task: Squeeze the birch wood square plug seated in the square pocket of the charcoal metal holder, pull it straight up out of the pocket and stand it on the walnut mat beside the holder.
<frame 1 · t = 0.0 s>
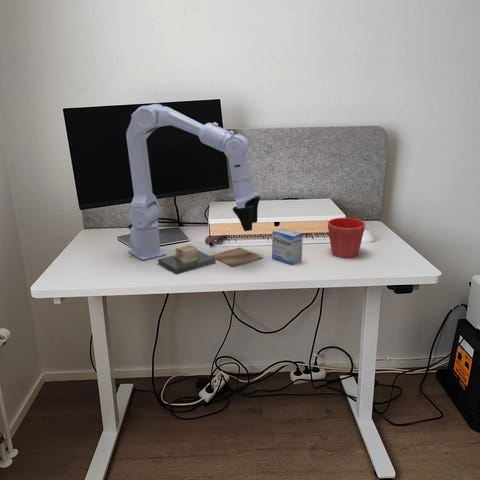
hand: (250, 226, 144), 11 cm above the table, tool pointing down, fingers open, 7 cm apart
video game controller: (217, 240, 166), on the table
mat: (236, 257, 150), on the table
medicine box: (286, 260, 147), on the table
holder: (187, 263, 146), on the table
square plug: (187, 264, 146), resting in holder
flower pot: (344, 254, 152), on the table
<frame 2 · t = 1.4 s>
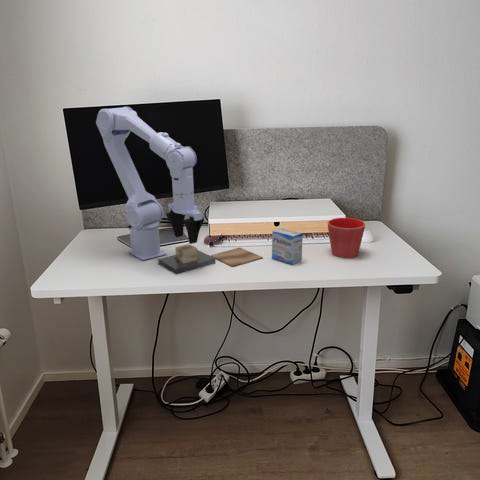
hand: (185, 239, 143), 7 cm above the table, tool pointing down, fingers open, 7 cm apart
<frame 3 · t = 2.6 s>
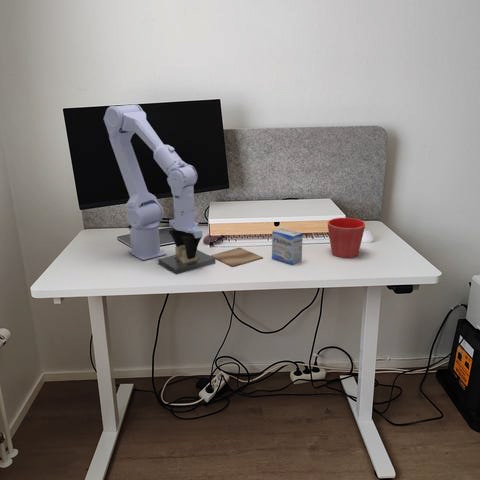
hand: (186, 255, 145), 2 cm above the table, tool pointing down, fingers closed on square plug, 4 cm apart
square plug: (187, 263, 146), resting in holder, touching gripper
everything else where it was.
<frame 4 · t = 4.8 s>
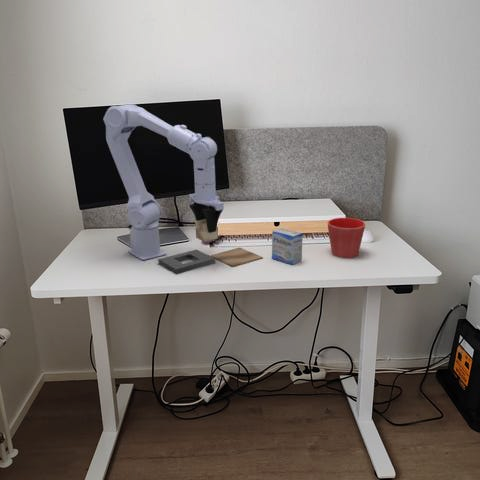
hand: (207, 229, 144), 10 cm above the table, tool pointing down, fingers closed on square plug, 4 cm apart
square plug: (206, 238, 145), point 7 cm above the table, touching gripper
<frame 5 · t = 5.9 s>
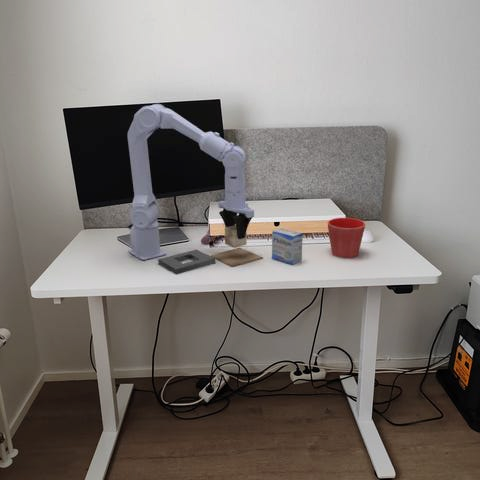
hand: (236, 236, 148), 7 cm above the table, tool pointing down, fingers closed on square plug, 4 cm apart
square plug: (235, 244, 149), point 4 cm above the table, touching gripper
when the fingers open (4 cm above the table, at t = 6.8 s): square plug drops 1 cm, resting on mat.
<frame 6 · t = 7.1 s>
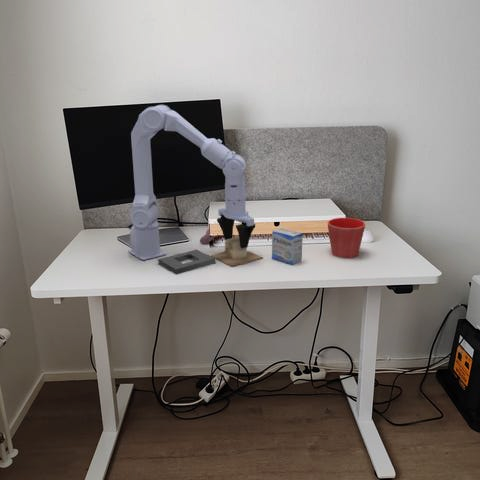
hand: (236, 244, 149), 4 cm above the table, tool pointing down, fingers open, 7 cm apart
square plug: (235, 256, 150), resting on mat
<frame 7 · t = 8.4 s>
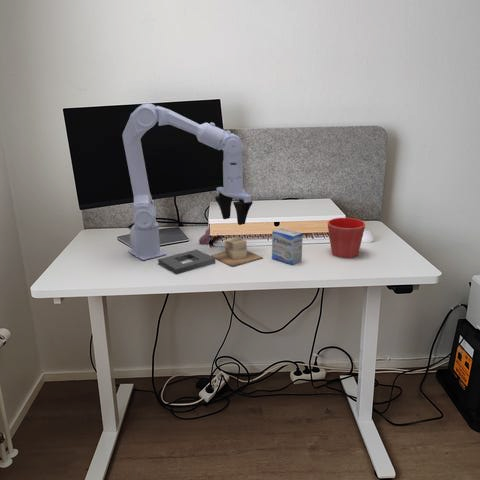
hand: (233, 221, 153), 9 cm above the table, tool pointing down, fingers open, 7 cm apart
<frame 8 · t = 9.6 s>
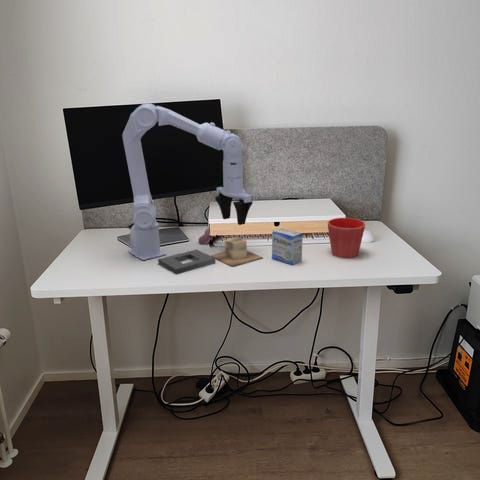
hand: (233, 221, 153), 9 cm above the table, tool pointing down, fingers open, 7 cm apart
at the end: square plug inside the target area on the mat (0.2 cm from its centre), point 0.4 cm above the mat's base; square plug tilted 0°; the gripper is holding nothing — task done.
